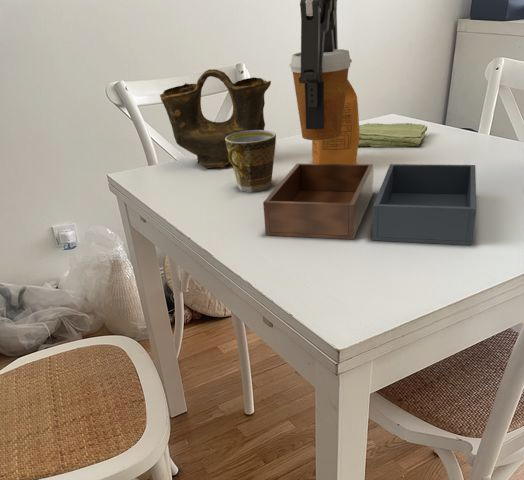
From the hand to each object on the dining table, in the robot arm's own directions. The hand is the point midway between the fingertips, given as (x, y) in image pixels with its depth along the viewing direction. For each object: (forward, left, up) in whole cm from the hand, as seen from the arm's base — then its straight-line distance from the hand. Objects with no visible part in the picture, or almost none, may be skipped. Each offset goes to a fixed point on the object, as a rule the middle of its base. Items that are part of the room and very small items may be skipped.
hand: (321, 121), depth 87 cm
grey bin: (-18, 0, -15) cm, 23 cm away
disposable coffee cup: (0, 0, -2) cm, 2 cm away
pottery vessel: (+30, -30, -16) cm, 46 cm away
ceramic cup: (+17, -12, -16) cm, 26 cm away
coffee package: (+3, -29, -16) cm, 33 cm away
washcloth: (-6, -50, -16) cm, 53 cm away
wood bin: (0, 0, -15) cm, 15 cm away
